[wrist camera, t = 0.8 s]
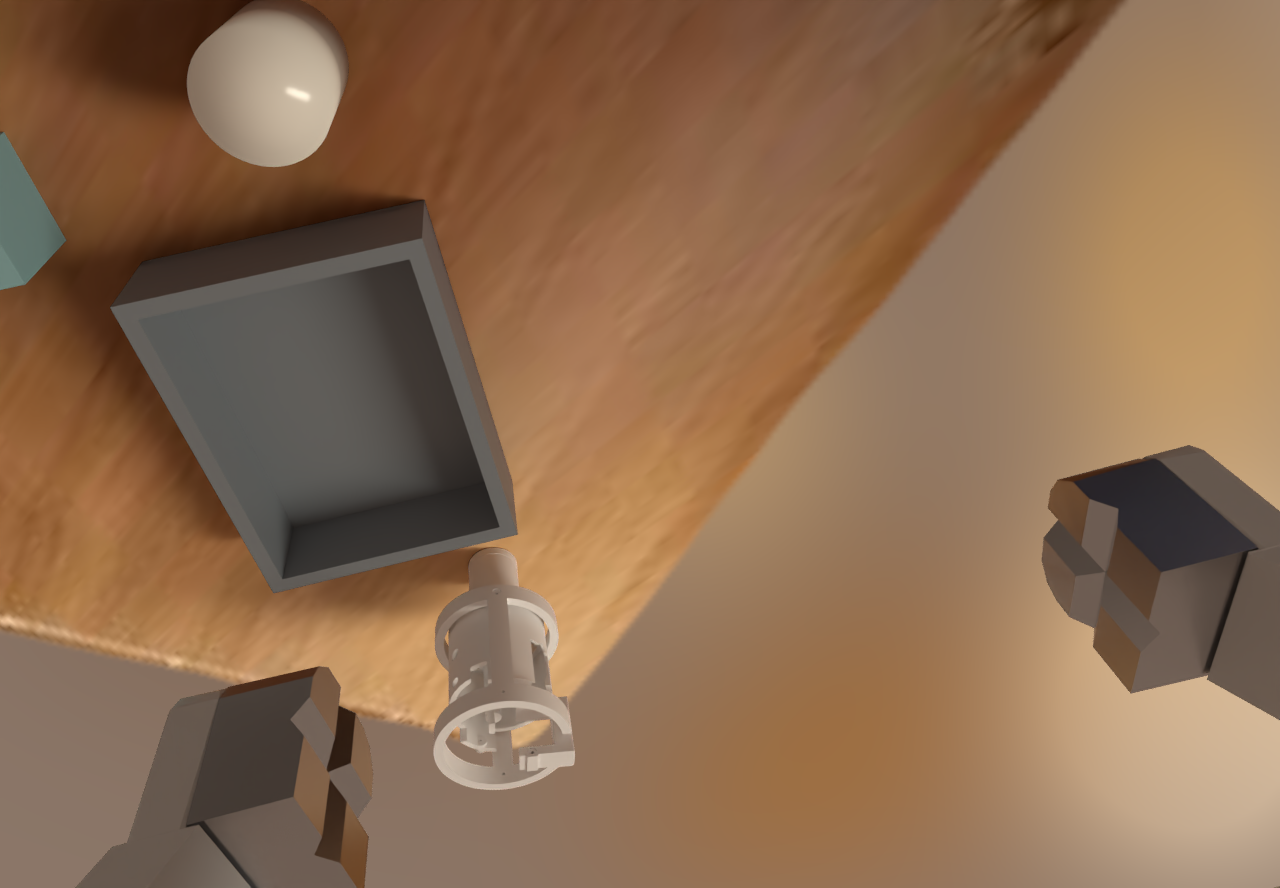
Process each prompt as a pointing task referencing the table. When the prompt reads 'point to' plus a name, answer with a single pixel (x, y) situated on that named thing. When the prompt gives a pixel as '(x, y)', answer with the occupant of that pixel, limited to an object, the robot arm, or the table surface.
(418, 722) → the table surface
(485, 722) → the grey slotted cylindrical housing
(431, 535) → the tote
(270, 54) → the cream capsule
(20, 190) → the teal cube
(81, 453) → the table surface
